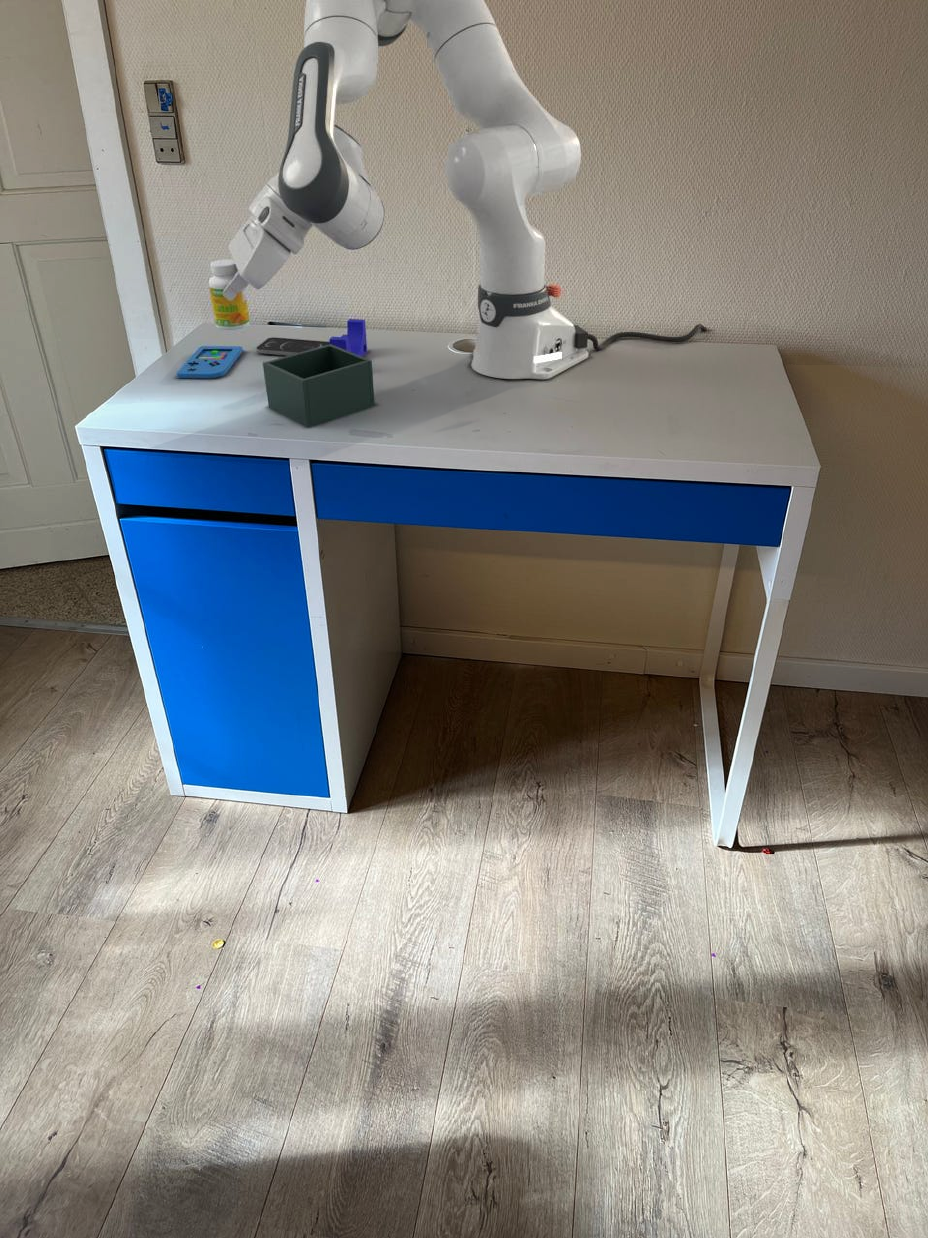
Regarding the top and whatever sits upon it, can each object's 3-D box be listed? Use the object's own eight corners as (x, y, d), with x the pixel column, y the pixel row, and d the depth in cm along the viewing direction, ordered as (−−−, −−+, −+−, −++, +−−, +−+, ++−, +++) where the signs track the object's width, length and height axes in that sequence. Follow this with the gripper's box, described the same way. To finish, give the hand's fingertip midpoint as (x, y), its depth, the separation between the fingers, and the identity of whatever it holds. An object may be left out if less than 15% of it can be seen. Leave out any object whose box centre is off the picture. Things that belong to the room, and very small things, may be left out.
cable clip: (344, 350, 178) (341, 318, 174) (367, 351, 177) (365, 319, 173) (324, 371, 168) (321, 338, 165) (348, 373, 167) (345, 340, 164)
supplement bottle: (212, 331, 147) (201, 267, 141) (219, 320, 151) (209, 258, 146) (246, 330, 147) (237, 266, 141) (253, 320, 151) (244, 257, 146)
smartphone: (329, 355, 173) (253, 349, 175) (329, 360, 173) (254, 353, 176) (342, 342, 179) (269, 336, 181) (343, 347, 179) (270, 341, 182)
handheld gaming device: (175, 371, 165) (200, 344, 177) (176, 378, 166) (201, 349, 178) (221, 372, 165) (242, 344, 177) (222, 378, 165) (243, 350, 178)
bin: (334, 387, 162) (330, 343, 157) (375, 405, 155) (371, 360, 150) (268, 407, 154) (262, 362, 150) (307, 427, 147) (302, 380, 143)
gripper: (253, 193, 149) (201, 262, 152) (270, 218, 133) (212, 295, 136) (285, 220, 153) (233, 287, 156) (305, 248, 136) (247, 322, 140)
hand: (223, 291), depth 146 cm, fingers closed on supplement bottle, 5 cm apart
